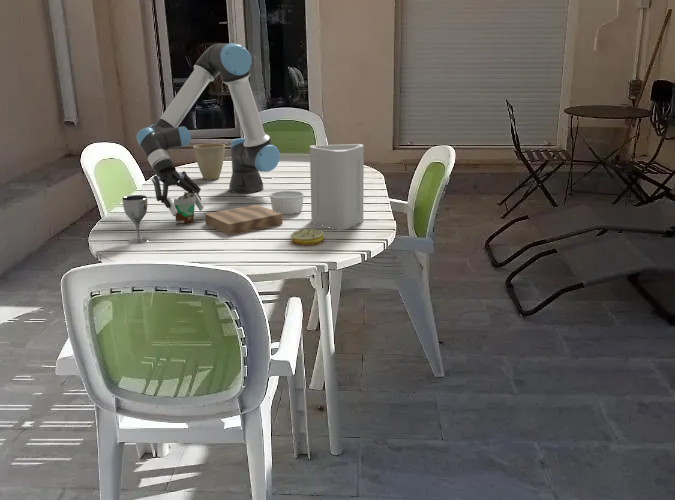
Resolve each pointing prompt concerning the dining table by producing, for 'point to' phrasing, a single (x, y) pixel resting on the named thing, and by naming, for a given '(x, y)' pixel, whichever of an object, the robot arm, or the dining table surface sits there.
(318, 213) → the white triangular vase
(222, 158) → the plant pot
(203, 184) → the dining table surface
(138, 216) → the wine glass
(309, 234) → the decorated donut
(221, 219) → the walnut stand
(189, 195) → the food container
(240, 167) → the robot arm
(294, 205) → the ramekin
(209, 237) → the dining table surface
